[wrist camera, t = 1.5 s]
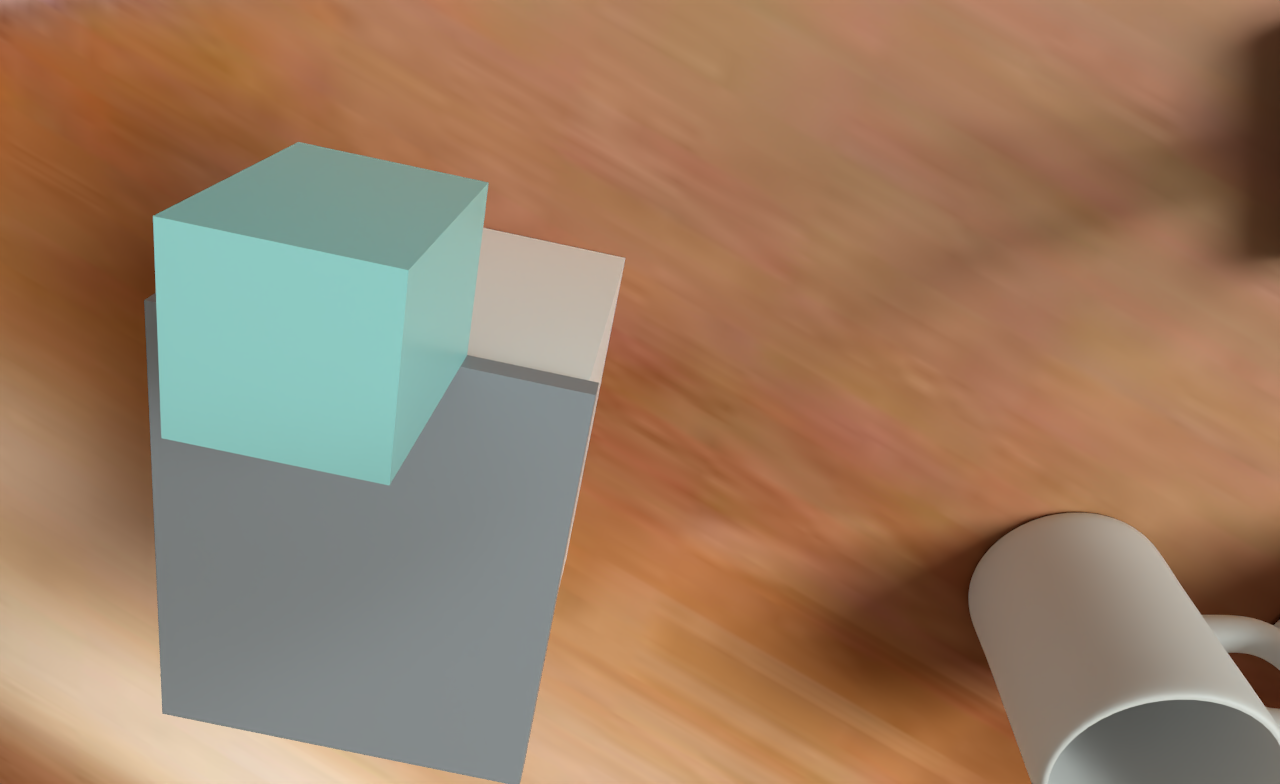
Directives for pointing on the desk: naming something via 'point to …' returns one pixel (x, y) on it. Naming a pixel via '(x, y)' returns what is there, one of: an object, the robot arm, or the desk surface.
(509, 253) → the tub
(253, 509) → the lid
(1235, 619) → the mug
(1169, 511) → the desk surface
